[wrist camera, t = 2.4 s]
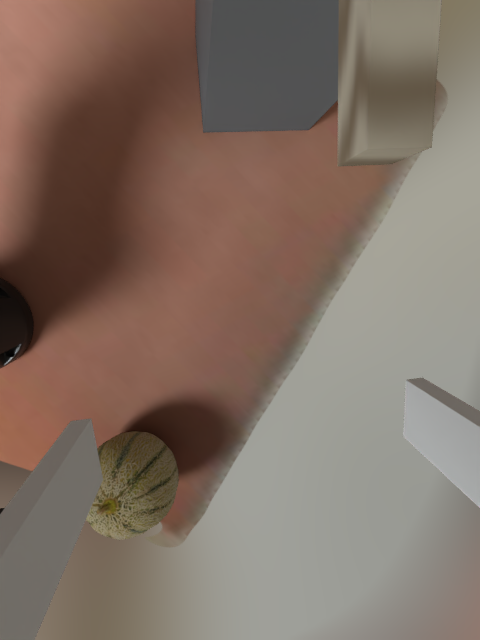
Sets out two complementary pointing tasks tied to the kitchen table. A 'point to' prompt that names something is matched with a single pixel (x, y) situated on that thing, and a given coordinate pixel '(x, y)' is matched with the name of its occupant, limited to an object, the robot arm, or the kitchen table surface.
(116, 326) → the kitchen table surface
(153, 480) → the cantaloupe
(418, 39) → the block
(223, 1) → the lidded box
